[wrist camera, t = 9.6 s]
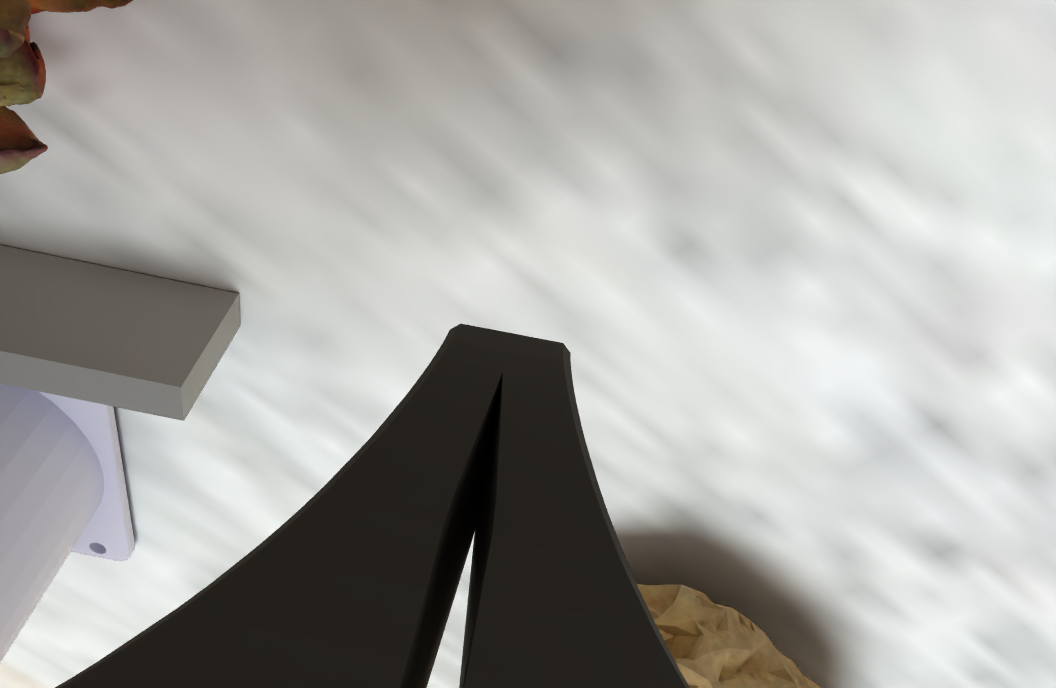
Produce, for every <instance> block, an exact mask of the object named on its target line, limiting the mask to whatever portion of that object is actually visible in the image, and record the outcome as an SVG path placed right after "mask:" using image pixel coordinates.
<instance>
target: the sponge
mask: <svg viewBox="0 0 1056 688" xmlns="http://www.w3.org/2000/svg"><path fill="white" fill-rule="evenodd" d="M637 586H638V588H639V590H640V592H641V594H642V596H643V599H644V601H645V603H646V605H647V607H648V609H649V611H650V613H651V615H652V617H653V620H654V622H655V624H656V626H657V628H658V629H659V631H660V633H661V635H662V637H663V639H664V641H665V643H666V645H667V647H668V649H669V651H670V653H671V654H672V656H673V658H674V660H675V662H676V664H677V666H678V668H679V670H680V671H681V673H682V675H683V676H684V678H685V680H686V682H687V683H688V685H689V687H690V688H821V687H820V686H818V685H817V684H815V683H814V682H813V681H811V680H810V679H808V678H807V677H805V676H804V675H803V674H802V673H801V672H800V671H799V669H798V668H797V666H796V665H795V663H794V662H793V660H791V659H790V658H788V657H786V656H784V655H782V654H781V653H780V652H779V651H778V650H777V649H776V648H775V647H774V646H773V644H772V643H771V641H770V639H769V638H768V636H767V635H766V634H765V633H764V632H763V631H762V630H761V629H760V628H759V627H757V626H756V625H755V624H754V623H753V622H752V621H751V620H749V619H748V618H746V617H745V616H743V615H742V614H741V613H739V612H738V611H736V610H735V609H733V608H731V607H727V606H723V605H719V604H714V603H713V602H712V601H711V600H710V599H709V598H708V597H707V596H706V595H705V594H704V593H702V592H700V591H697V590H695V589H692V588H689V587H687V586H684V585H642V584H637Z"/></svg>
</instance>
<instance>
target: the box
mask: <svg viewBox="0 0 1056 688" xmlns="http://www.w3.org/2000/svg"><path fill="white" fill-rule="evenodd" d="M239 327H240V304H239V294H238V293H233V292H228V291H224V290H219V289H214V288H209V287H204V286H199V285H194V284H189V283H184V282H179V281H174V280H170V279H165V278H160V277H155V276H150V275H145V274H140V273H135V272H130V271H125V270H120V269H116V268H111V267H106V266H101V265H96V264H91V263H86V262H81V261H76V260H71V259H66V258H61V257H57V256H52V255H47V254H42V253H37V252H32V251H27V250H22V249H17V248H12V247H7V246H3V245H0V384H5V385H10V386H15V387H19V388H24V389H29V390H34V391H39V392H44V393H49V394H54V395H59V396H64V397H69V398H74V399H79V400H84V401H89V402H94V403H99V404H104V405H109V406H114V407H119V408H124V409H128V410H133V411H138V412H143V413H148V414H153V415H158V416H163V417H168V418H173V419H178V420H183V421H184V420H185V418H186V416H187V415H188V413H189V411H190V410H191V408H192V406H193V405H194V403H195V401H196V399H197V398H198V396H199V394H200V393H201V391H202V389H203V388H204V386H205V384H206V383H207V381H208V379H209V378H210V376H211V374H212V372H213V371H214V369H215V367H216V366H217V364H218V362H219V361H220V359H221V357H222V356H223V354H224V352H225V351H226V349H227V347H228V345H229V344H230V342H231V340H232V339H233V337H234V335H235V334H236V332H237V330H238V329H239Z"/></svg>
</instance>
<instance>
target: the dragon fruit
mask: <svg viewBox="0 0 1056 688" xmlns="http://www.w3.org/2000/svg"><path fill="white" fill-rule="evenodd" d="M131 1H133V0H0V174H3V173H6V172H9V171H13V170H17V169H19V168H21V167H22V166H24V165H25V164H26V163H27V162H29V161H30V160H31V159H33V158H35V157H37V156H38V155H39V154H41V153H43V152H45V151H46V150H47V149H48V147H47V145H45V144H43V143H42V142H40V141H39V140H38V139H37V138H36V137H35V135H34V134H33V133H32V131H31V130H30V129H29V128H28V126H27V125H26V124H25V122H24V121H23V120H22V119H21V118H20V117H19V116H18V115H17V114H16V113H15V112H14V111H13V110H9V109H8V108H7V107H6V106H11V105H14V104H21V105H22V104H29V103H31V102H33V101H35V100H36V99H38V98H41V96H42V94H43V91H44V86H45V80H46V79H45V77H46V71H45V64H44V60H43V58H42V55H41V52H40V50H39V48H38V46H37V44H36V43H34V42H31V43H30V37H29V27H28V22H29V20H30V17H31V14H35V13H39V12H42V11H50V12H67V13H69V12H81V11H84V12H87V11H90V10H92V9H94V8H96V7H100V6H104V7H108V8H116V7H121V6H125V5H127V4H128V3H130V2H131Z"/></svg>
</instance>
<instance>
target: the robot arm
mask: <svg viewBox="0 0 1056 688" xmlns="http://www.w3.org/2000/svg"><path fill="white" fill-rule="evenodd" d="M474 532H475V535H474ZM473 535H474V545H473V555H472V565H471V575H470V585H469V595H468V605H467V615H466V625H465V635H464V646H463V656H462V666H461V676H460V686H459V688H690V687H689V685H688V683H687V682H686V680H685V678H684V676H683V675H682V673H681V671H680V670H679V668H678V666H677V664H676V662H675V660H674V658H673V656H672V654H671V653H670V651H669V649H668V647H667V645H666V643H665V641H664V639H663V637H662V635H661V633H660V631H659V629H658V628H657V626H656V624H655V622H654V620H653V617H652V615H651V613H650V611H649V609H648V607H647V605H646V603H645V601H644V599H643V596H642V594H641V592H640V590H639V588H638V586H637V584H636V581H635V579H634V577H633V574H632V572H631V570H630V568H629V565H628V563H627V560H626V558H625V556H624V553H623V551H622V548H621V546H620V543H619V541H618V538H617V535H616V533H615V530H614V527H613V525H612V522H611V520H610V517H609V514H608V512H607V509H606V506H605V503H604V500H603V497H602V494H601V491H600V488H599V485H598V482H597V479H596V475H595V472H594V469H593V465H592V462H591V459H590V456H589V452H588V449H587V446H586V442H585V438H584V434H583V430H582V426H581V422H580V417H579V413H578V408H577V404H576V399H575V393H574V388H573V381H572V373H571V362H570V352H569V350H568V349H567V348H566V346H565V345H564V344H563V343H560V342H554V341H549V340H544V339H539V338H533V337H528V336H523V335H518V334H512V333H507V332H502V331H497V330H491V329H486V328H481V327H476V326H470V325H465V324H459V325H457V326H456V327H454V328H452V329H450V331H449V333H448V335H447V336H446V338H445V340H444V342H443V344H442V345H441V347H440V349H439V350H438V352H437V353H436V355H435V356H434V358H433V359H432V361H431V362H430V364H429V365H428V367H427V368H426V370H425V371H424V372H423V374H422V375H421V376H420V378H419V379H418V380H417V382H416V383H415V384H414V386H413V387H412V388H411V390H410V391H409V392H408V394H407V395H406V396H405V397H404V399H403V400H402V401H401V402H400V403H399V405H398V406H397V407H396V408H395V409H394V411H393V412H392V413H391V414H390V415H389V417H388V418H387V419H386V420H385V421H384V423H383V424H382V425H381V426H380V427H379V429H378V430H377V431H376V432H375V433H374V434H373V436H372V437H371V438H370V439H369V440H368V441H367V442H366V443H365V444H364V445H363V446H362V447H361V449H360V450H359V451H358V452H357V453H356V454H355V455H354V456H353V457H352V458H351V459H350V460H349V461H348V462H347V463H346V464H345V465H344V466H343V467H342V468H341V469H340V470H339V471H338V473H337V474H336V475H335V476H334V477H333V478H332V479H331V480H330V481H329V482H328V483H327V484H326V485H325V486H324V487H323V488H322V489H321V490H320V491H319V492H318V493H317V494H316V495H315V496H314V497H312V498H311V499H310V500H309V501H308V502H307V503H306V504H305V505H304V506H303V507H302V508H301V509H300V510H299V511H298V512H296V513H295V514H294V515H293V516H292V517H291V518H290V519H289V520H288V521H286V522H285V523H284V524H283V525H282V526H281V527H280V528H278V529H277V530H276V531H275V532H274V533H273V534H272V535H270V536H269V537H268V538H267V539H266V540H265V541H263V542H262V543H261V544H260V545H259V546H257V547H256V548H255V549H254V550H252V551H251V552H250V553H249V554H247V555H246V556H245V557H244V558H242V559H241V560H240V561H239V562H237V563H236V564H235V565H234V566H232V567H231V568H230V569H229V570H227V571H226V572H225V573H224V574H222V575H221V576H220V577H218V578H217V579H216V580H215V581H213V582H212V583H211V584H210V585H208V586H207V587H206V588H204V589H203V590H202V591H200V592H199V593H197V594H196V595H195V596H193V597H192V598H191V599H189V600H188V601H187V602H185V603H184V604H182V605H181V606H180V607H178V608H177V609H176V610H174V611H173V612H171V613H170V614H168V615H167V616H165V617H164V618H162V619H161V620H159V621H158V622H156V623H155V624H153V625H152V626H150V627H149V628H147V629H146V630H144V631H143V632H141V633H140V634H138V635H137V636H135V637H134V638H132V639H131V640H129V641H128V642H126V643H125V644H123V645H122V646H120V647H119V648H117V649H116V650H114V651H113V652H111V653H110V654H108V655H107V656H106V657H104V658H103V659H101V660H100V661H98V662H96V663H95V664H93V665H92V666H90V667H88V668H87V669H85V670H84V671H82V672H80V673H79V674H77V675H76V676H74V677H72V678H71V679H69V680H67V681H66V682H64V683H62V684H60V685H59V686H57V687H55V688H426V687H427V684H428V681H429V678H430V674H431V671H432V668H433V665H434V661H435V658H436V655H437V652H438V649H439V645H440V642H441V639H442V636H443V632H444V629H445V626H446V623H447V620H448V616H449V613H450V610H451V607H452V603H453V600H454V597H455V594H456V591H457V587H458V584H459V581H460V578H461V574H462V571H463V568H464V565H465V561H466V558H467V555H468V552H469V548H470V545H471V542H472V539H473ZM134 549H135V543H134V536H133V530H132V523H131V517H130V511H129V504H128V498H127V491H126V485H125V478H124V472H123V466H122V459H121V453H120V446H119V440H118V433H117V427H116V421H115V414H114V408H113V406H109V405H104V404H99V403H94V402H89V401H84V400H79V399H74V398H69V397H64V396H59V395H54V394H49V393H44V392H39V391H34V390H29V389H24V388H19V387H15V386H10V385H5V384H0V662H1V661H2V659H3V658H4V656H5V655H6V653H7V651H8V650H9V648H10V647H11V645H12V643H13V642H14V640H15V639H16V637H17V636H18V634H19V632H20V631H21V629H22V628H23V626H24V624H25V623H26V621H27V620H28V618H29V616H30V615H31V613H32V612H33V610H34V609H35V607H36V605H37V604H38V602H39V601H40V599H41V597H42V596H43V594H44V593H45V591H46V590H47V588H48V586H49V585H50V583H51V582H52V580H53V578H54V577H55V575H56V574H57V572H58V570H59V569H60V567H61V566H62V564H63V563H64V561H65V559H66V558H67V556H68V555H69V553H70V552H75V553H80V554H85V555H90V556H95V557H100V558H105V559H110V560H115V561H123V560H127V559H128V558H129V557H130V556H131V554H132V553H133V551H134Z"/></svg>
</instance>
